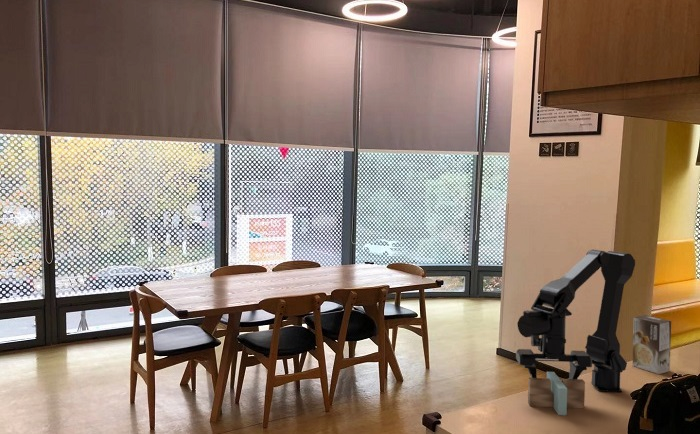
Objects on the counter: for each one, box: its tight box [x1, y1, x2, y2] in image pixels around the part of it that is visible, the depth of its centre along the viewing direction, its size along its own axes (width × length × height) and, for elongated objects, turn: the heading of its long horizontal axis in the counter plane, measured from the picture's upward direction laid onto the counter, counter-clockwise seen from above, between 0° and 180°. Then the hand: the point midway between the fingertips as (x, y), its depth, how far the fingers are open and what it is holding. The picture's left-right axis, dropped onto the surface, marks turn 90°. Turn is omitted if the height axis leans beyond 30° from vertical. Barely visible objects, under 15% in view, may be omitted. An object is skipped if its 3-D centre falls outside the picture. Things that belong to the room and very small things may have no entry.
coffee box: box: [632, 314, 672, 375], centre depth 171 cm, size 9×6×16 cm
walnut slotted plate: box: [527, 377, 586, 409], centre depth 143 cm, size 14×2×7 cm, turn 84°
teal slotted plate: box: [546, 371, 568, 416], centre depth 144 cm, size 12×2×7 cm, turn 174°
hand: (552, 388), depth 147 cm, fingers open, 9 cm apart
